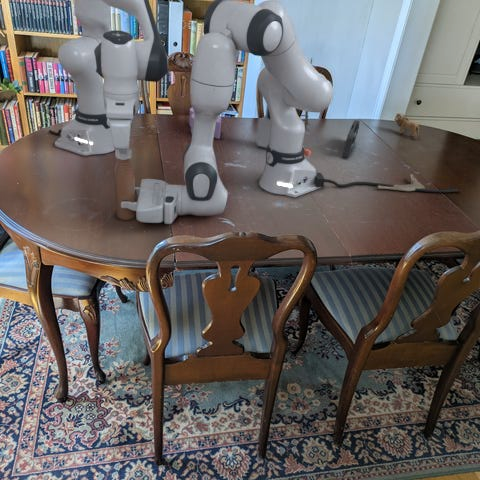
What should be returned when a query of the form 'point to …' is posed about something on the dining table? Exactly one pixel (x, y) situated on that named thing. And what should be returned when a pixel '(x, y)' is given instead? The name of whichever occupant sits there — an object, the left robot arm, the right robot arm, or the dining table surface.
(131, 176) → the bottle
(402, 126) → the lion figurine
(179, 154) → the dining table surface
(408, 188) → the jawbone
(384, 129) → the dining table surface
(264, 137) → the electronic device
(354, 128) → the handheld gaming console
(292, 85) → the right robot arm
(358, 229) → the dining table surface
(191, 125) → the clip
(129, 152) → the cap
